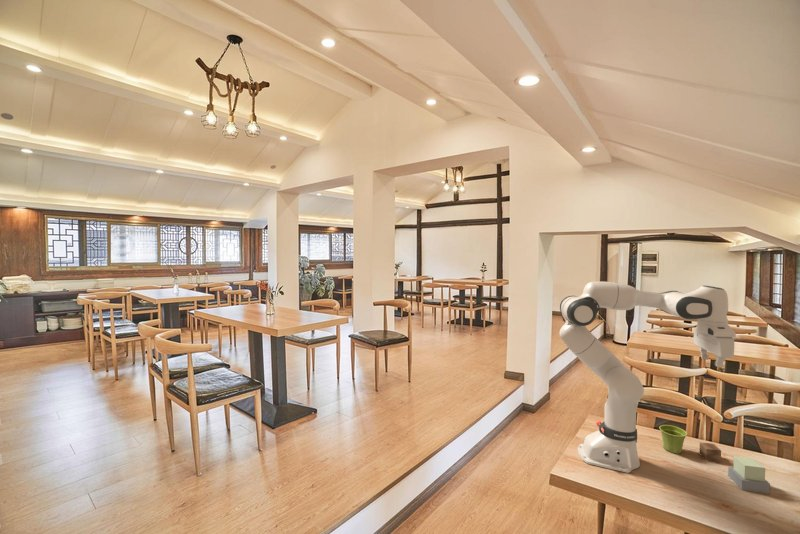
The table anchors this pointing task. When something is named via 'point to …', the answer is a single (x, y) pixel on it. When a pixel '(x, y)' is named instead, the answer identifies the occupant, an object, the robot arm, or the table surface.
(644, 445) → the table surface
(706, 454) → the walnut cube
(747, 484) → the base slab
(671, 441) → the plant pot
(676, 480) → the table surface
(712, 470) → the table surface
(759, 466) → the tower cube
